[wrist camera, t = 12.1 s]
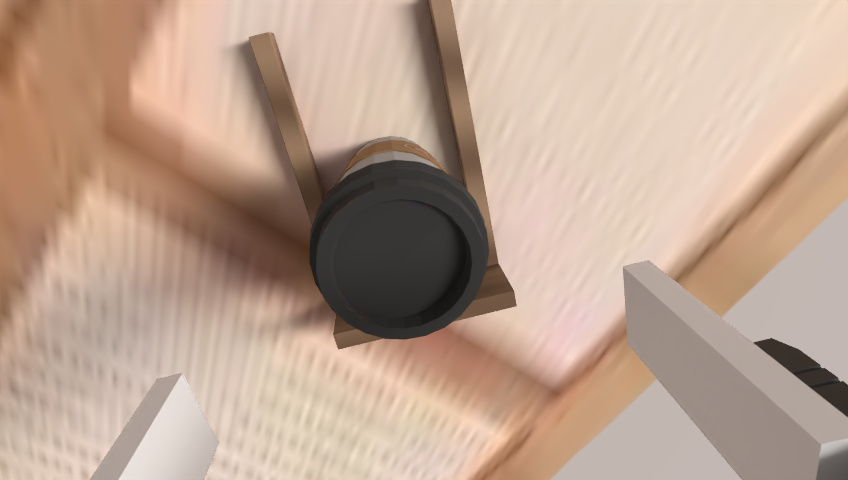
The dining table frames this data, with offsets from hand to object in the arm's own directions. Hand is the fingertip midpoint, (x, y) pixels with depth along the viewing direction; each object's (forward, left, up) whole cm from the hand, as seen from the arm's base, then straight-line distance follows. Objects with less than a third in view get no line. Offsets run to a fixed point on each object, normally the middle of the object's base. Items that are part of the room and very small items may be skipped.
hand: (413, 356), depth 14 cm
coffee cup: (0, 0, -22) cm, 22 cm away
